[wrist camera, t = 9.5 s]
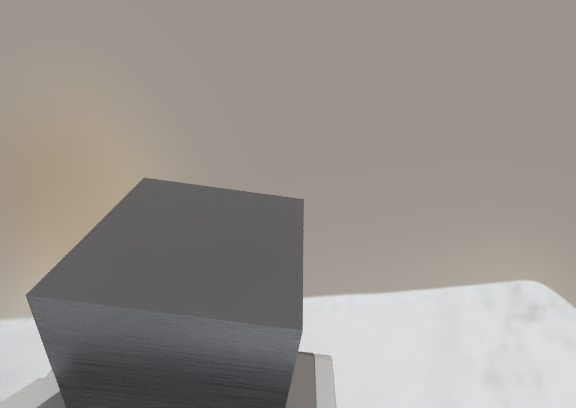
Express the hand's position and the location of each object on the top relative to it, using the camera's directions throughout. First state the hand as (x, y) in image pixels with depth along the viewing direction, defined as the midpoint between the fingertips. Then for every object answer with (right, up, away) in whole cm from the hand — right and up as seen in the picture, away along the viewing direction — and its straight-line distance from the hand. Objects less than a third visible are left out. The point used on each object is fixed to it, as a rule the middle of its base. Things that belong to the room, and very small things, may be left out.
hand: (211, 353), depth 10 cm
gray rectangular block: (-1, -7, +3) cm, 7 cm away
